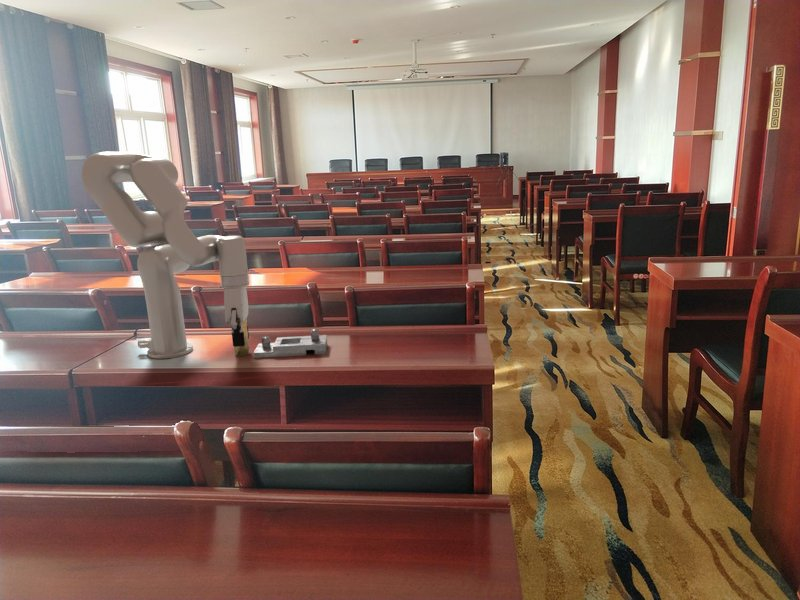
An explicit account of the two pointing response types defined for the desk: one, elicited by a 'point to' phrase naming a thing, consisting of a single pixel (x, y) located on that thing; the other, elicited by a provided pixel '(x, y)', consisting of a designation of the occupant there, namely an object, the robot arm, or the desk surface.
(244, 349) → the brass pin
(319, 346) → the upper chain link
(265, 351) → the slotted link plate
